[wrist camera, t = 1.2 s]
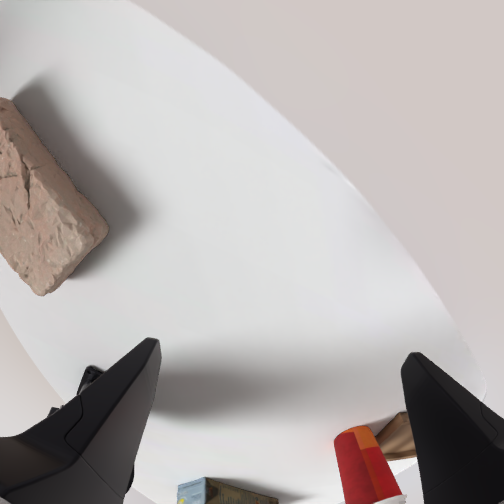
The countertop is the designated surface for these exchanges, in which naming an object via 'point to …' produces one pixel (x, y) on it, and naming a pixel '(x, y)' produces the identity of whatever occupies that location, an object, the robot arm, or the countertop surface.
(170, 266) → the countertop surface
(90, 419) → the robot arm
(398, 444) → the tray
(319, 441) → the countertop surface
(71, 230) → the brick
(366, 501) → the paper cup
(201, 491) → the beverage carton
